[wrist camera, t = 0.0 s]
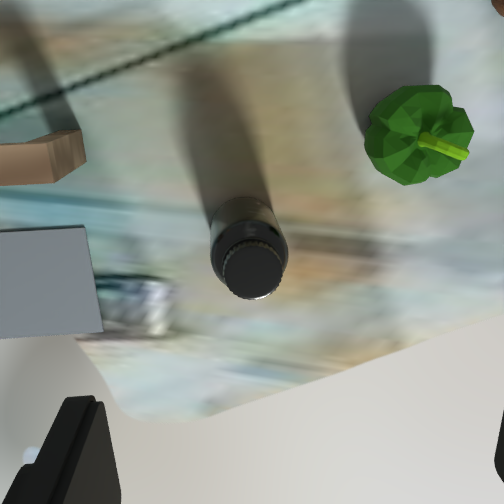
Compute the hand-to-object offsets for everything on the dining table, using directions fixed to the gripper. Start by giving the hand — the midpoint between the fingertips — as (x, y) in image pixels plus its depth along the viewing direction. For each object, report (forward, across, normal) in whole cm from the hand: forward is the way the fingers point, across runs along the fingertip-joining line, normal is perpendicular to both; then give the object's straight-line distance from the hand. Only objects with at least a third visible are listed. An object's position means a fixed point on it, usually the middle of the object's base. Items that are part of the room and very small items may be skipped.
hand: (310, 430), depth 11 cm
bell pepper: (+37, -15, -2) cm, 40 cm away
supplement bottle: (+37, 0, +7) cm, 38 cm away
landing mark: (+37, +22, +12) cm, 45 cm away
